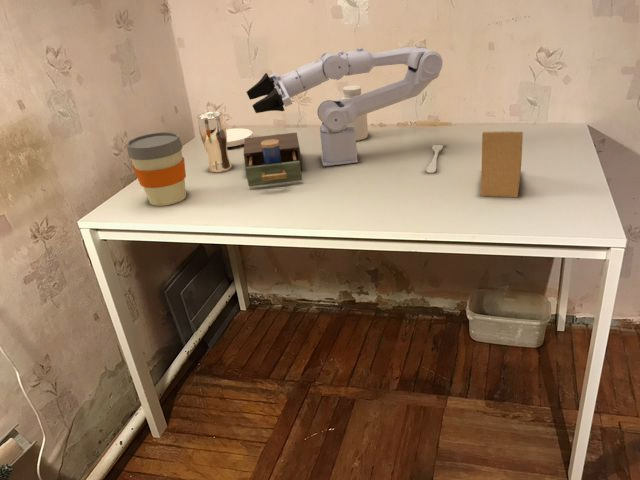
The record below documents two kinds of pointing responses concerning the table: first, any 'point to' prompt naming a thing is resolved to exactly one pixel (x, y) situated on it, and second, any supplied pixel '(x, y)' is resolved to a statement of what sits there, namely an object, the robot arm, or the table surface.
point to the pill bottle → (360, 121)
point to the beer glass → (214, 140)
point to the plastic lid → (237, 136)
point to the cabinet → (285, 143)
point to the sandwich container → (501, 163)
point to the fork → (434, 159)
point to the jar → (271, 151)
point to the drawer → (273, 170)
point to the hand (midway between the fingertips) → (250, 102)
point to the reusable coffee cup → (159, 166)
